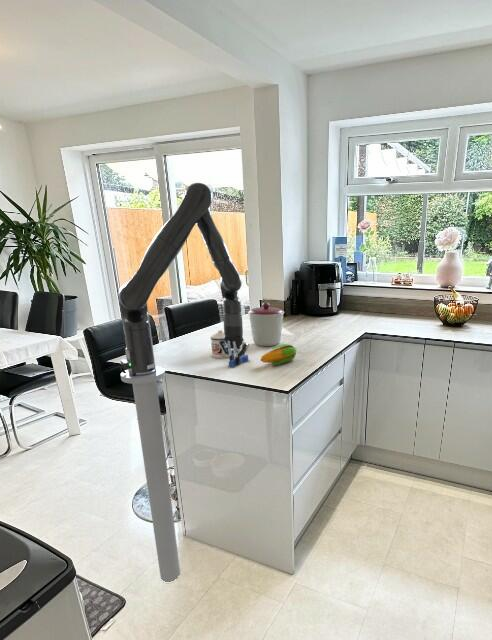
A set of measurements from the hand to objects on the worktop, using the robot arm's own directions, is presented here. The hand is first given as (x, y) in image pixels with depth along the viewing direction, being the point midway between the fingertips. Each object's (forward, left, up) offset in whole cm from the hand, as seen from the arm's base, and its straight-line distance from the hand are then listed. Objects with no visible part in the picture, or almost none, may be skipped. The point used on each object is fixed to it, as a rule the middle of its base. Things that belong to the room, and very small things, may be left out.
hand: (235, 364), depth 167 cm
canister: (+31, +24, 0) cm, 39 cm away
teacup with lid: (+3, +16, 0) cm, 16 cm away
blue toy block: (+3, +2, 0) cm, 3 cm away
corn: (+17, -8, 0) cm, 19 cm away
